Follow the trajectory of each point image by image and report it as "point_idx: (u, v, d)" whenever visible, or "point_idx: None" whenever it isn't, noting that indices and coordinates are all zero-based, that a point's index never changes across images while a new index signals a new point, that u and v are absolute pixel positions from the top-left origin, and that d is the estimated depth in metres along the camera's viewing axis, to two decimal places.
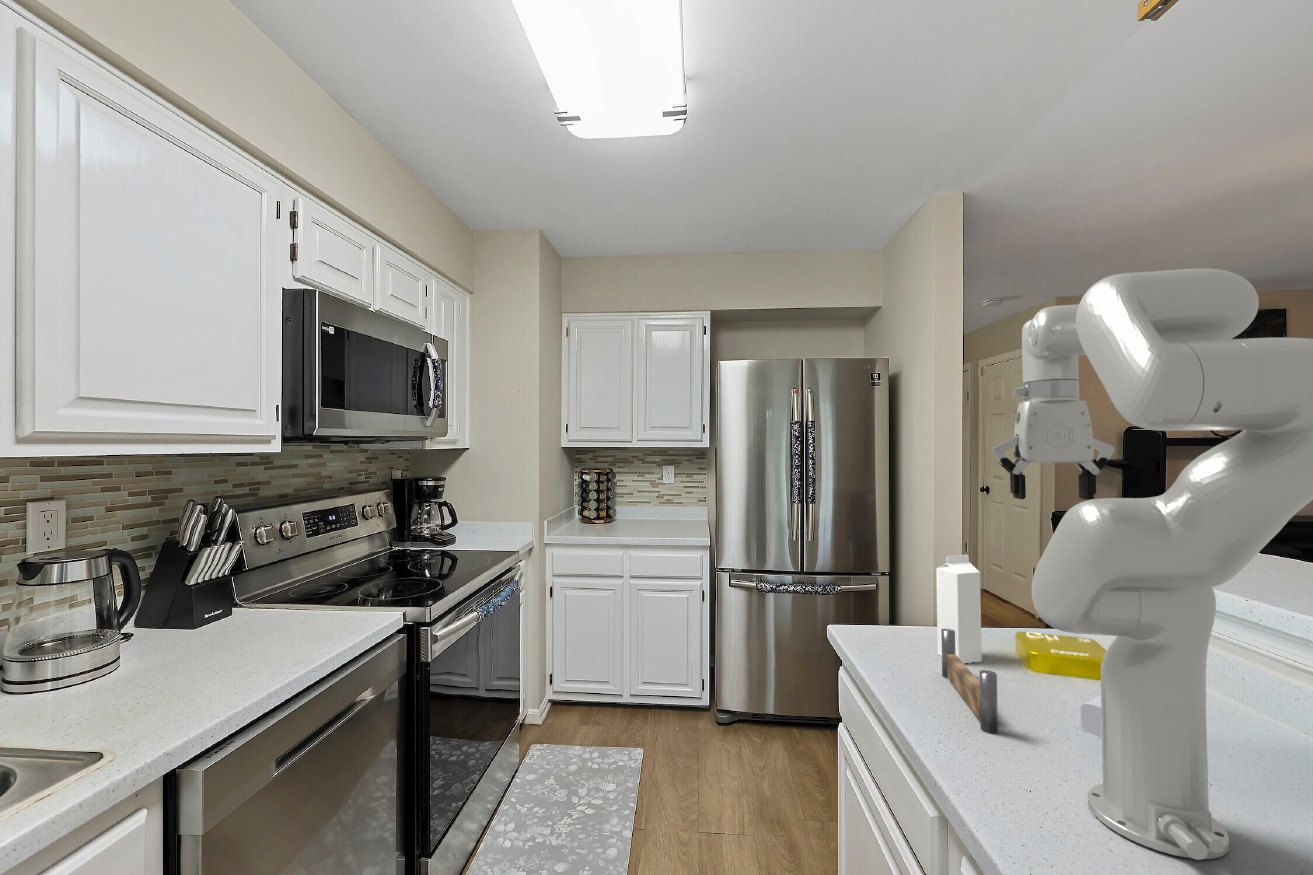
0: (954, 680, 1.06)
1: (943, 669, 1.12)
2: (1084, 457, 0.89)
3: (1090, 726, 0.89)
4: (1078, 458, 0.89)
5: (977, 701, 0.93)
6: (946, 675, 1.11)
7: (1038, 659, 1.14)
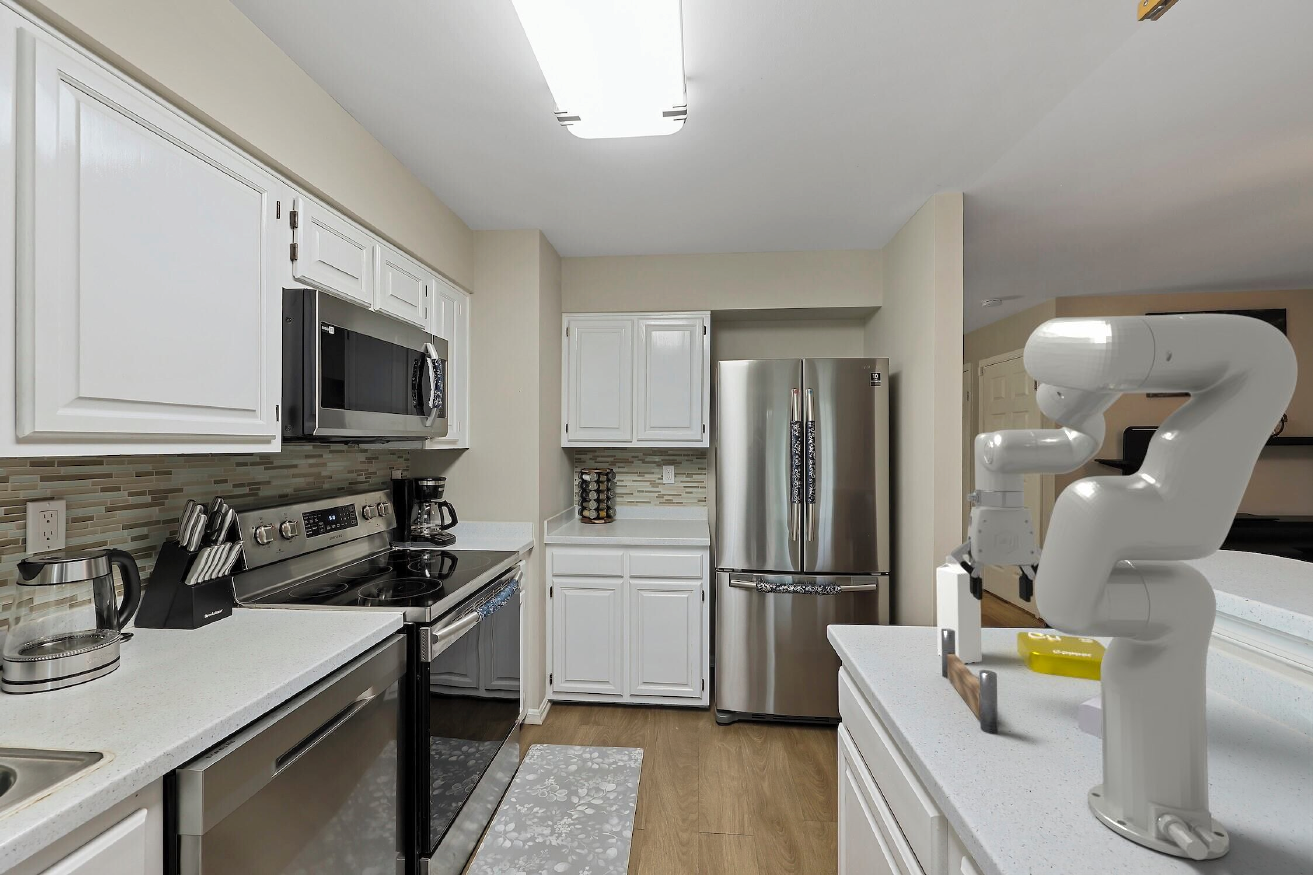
0: (954, 680, 1.06)
1: (943, 669, 1.12)
2: (1027, 562, 0.99)
3: (1087, 726, 0.89)
4: (1022, 562, 0.99)
5: (977, 701, 0.93)
6: (946, 675, 1.11)
7: (1040, 660, 1.13)
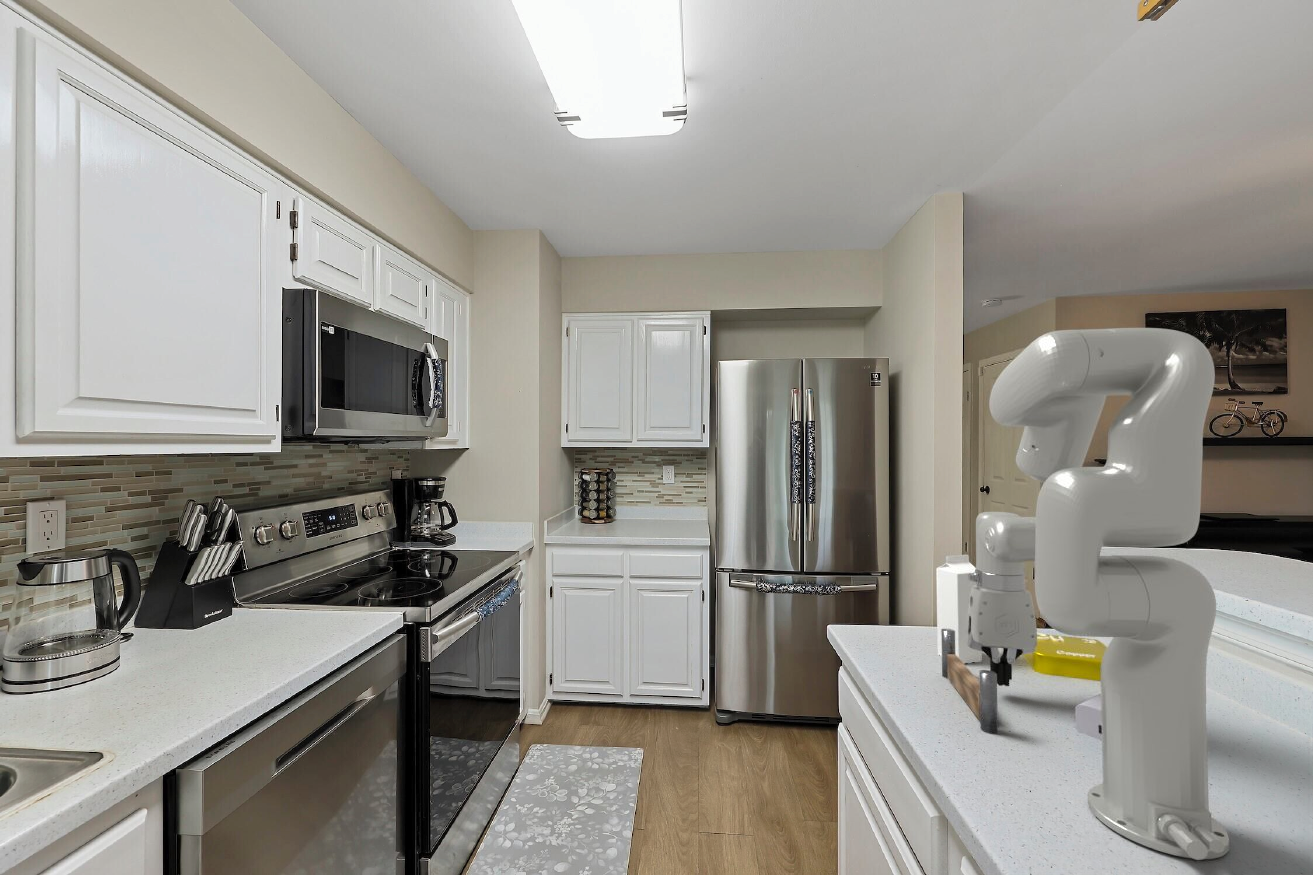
0: (954, 680, 1.06)
1: (943, 669, 1.12)
2: (1028, 645, 0.99)
3: (1084, 727, 0.89)
4: (1023, 645, 0.99)
5: (977, 701, 0.93)
6: (946, 675, 1.11)
7: (1044, 661, 1.13)
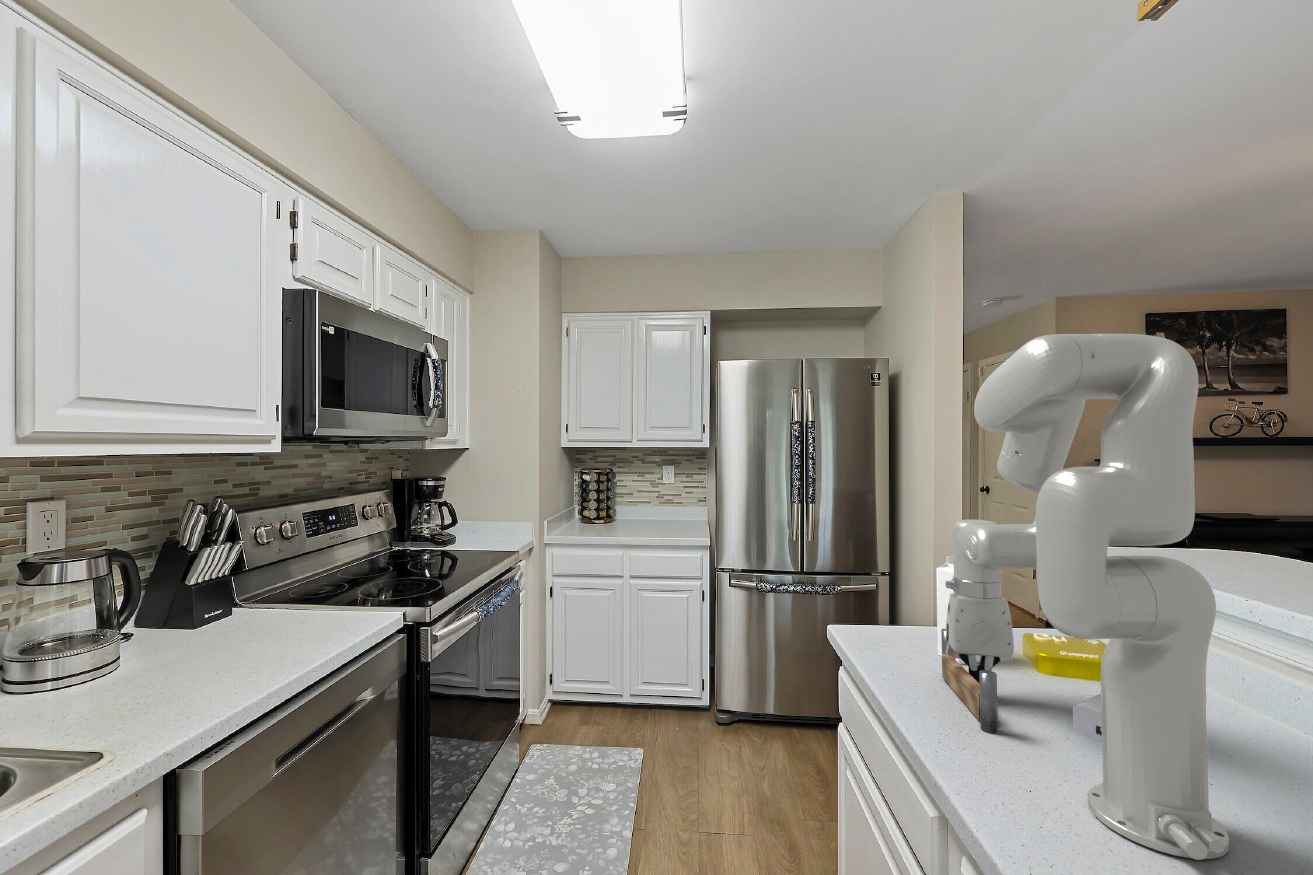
0: (950, 680, 1.06)
1: None
2: (1004, 653, 0.99)
3: (1082, 727, 0.89)
4: (999, 653, 1.00)
5: (977, 701, 0.93)
6: None
7: (1047, 661, 1.13)
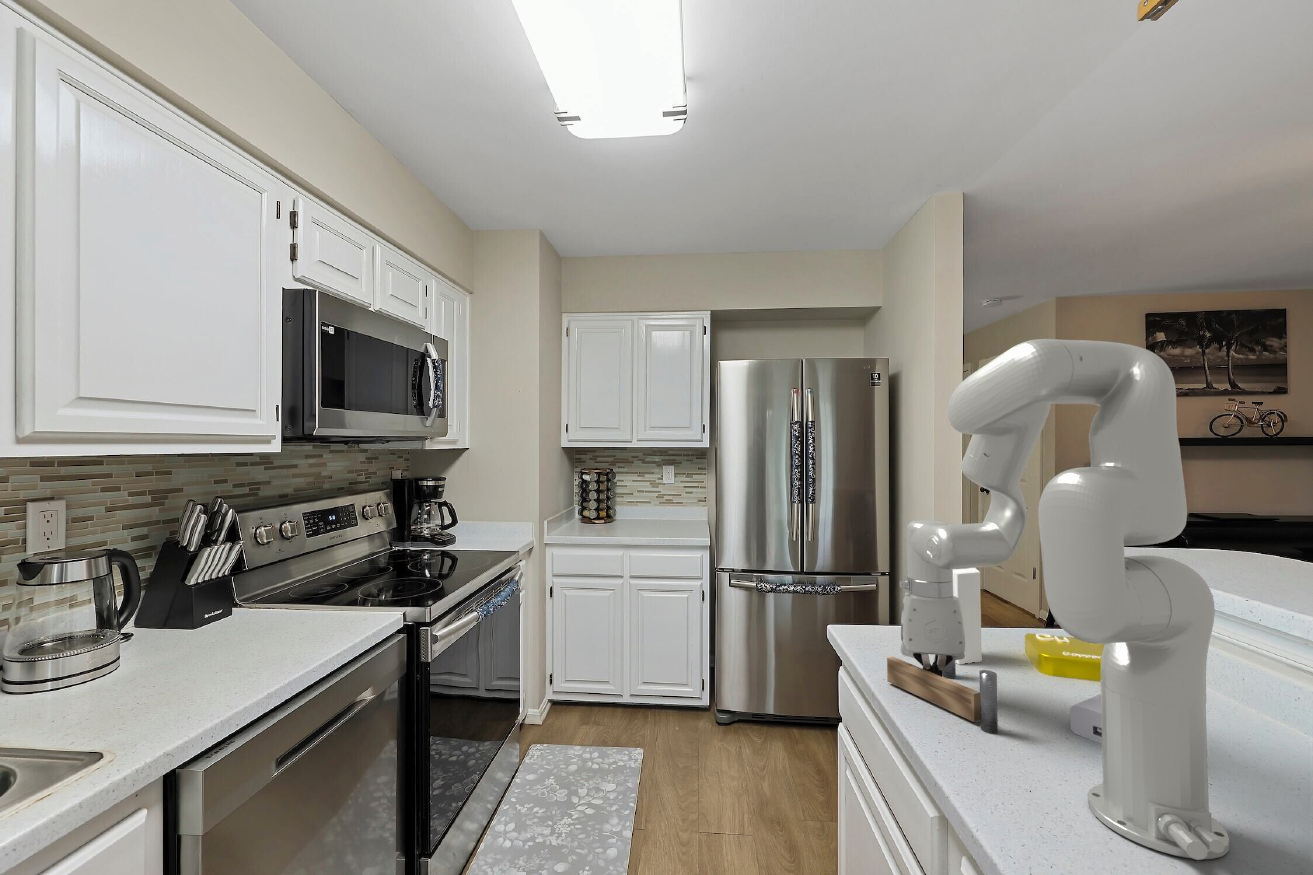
0: (906, 683, 1.04)
1: None
2: (956, 651, 1.01)
3: (1079, 728, 0.89)
4: (951, 652, 1.01)
5: (970, 703, 0.93)
6: (946, 675, 1.11)
7: (1050, 662, 1.12)
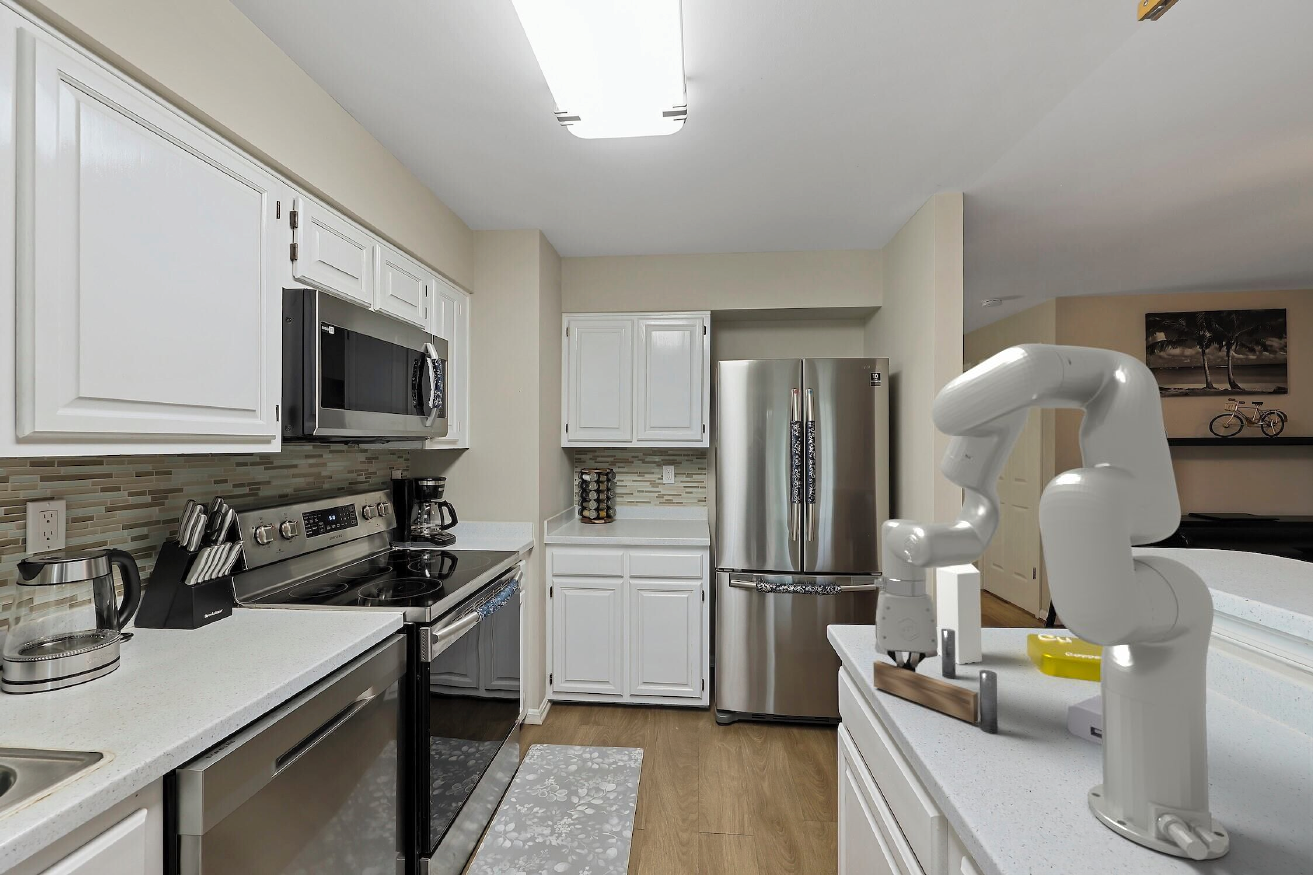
0: (895, 687, 1.03)
1: (943, 669, 1.12)
2: (929, 649, 1.02)
3: (1077, 728, 0.89)
4: (924, 649, 1.02)
5: (969, 704, 0.92)
6: (946, 675, 1.11)
7: (1053, 663, 1.12)
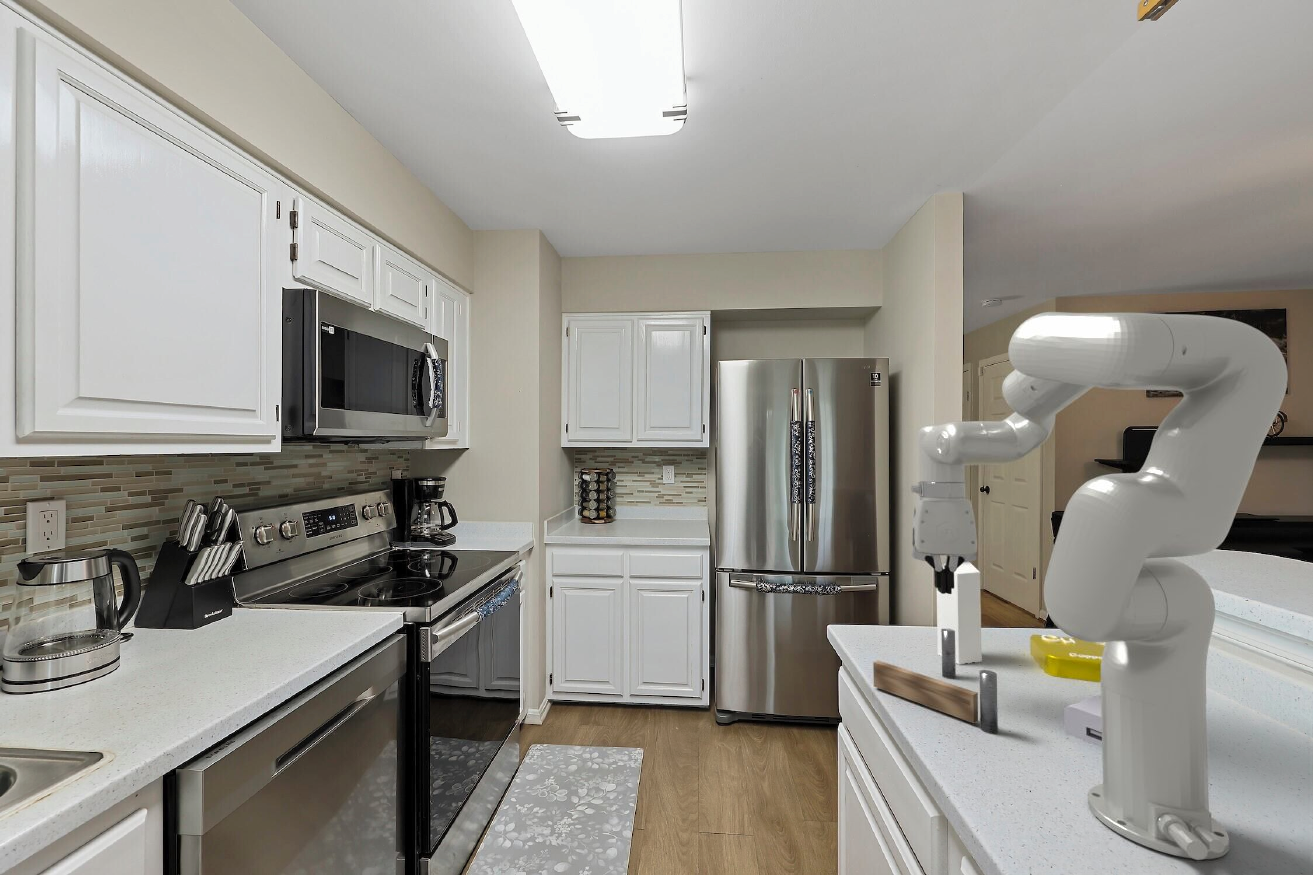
0: (895, 688, 1.03)
1: (943, 669, 1.12)
2: (968, 551, 1.01)
3: (1073, 729, 0.88)
4: (963, 552, 1.01)
5: (969, 704, 0.92)
6: (946, 675, 1.11)
7: (1057, 663, 1.11)
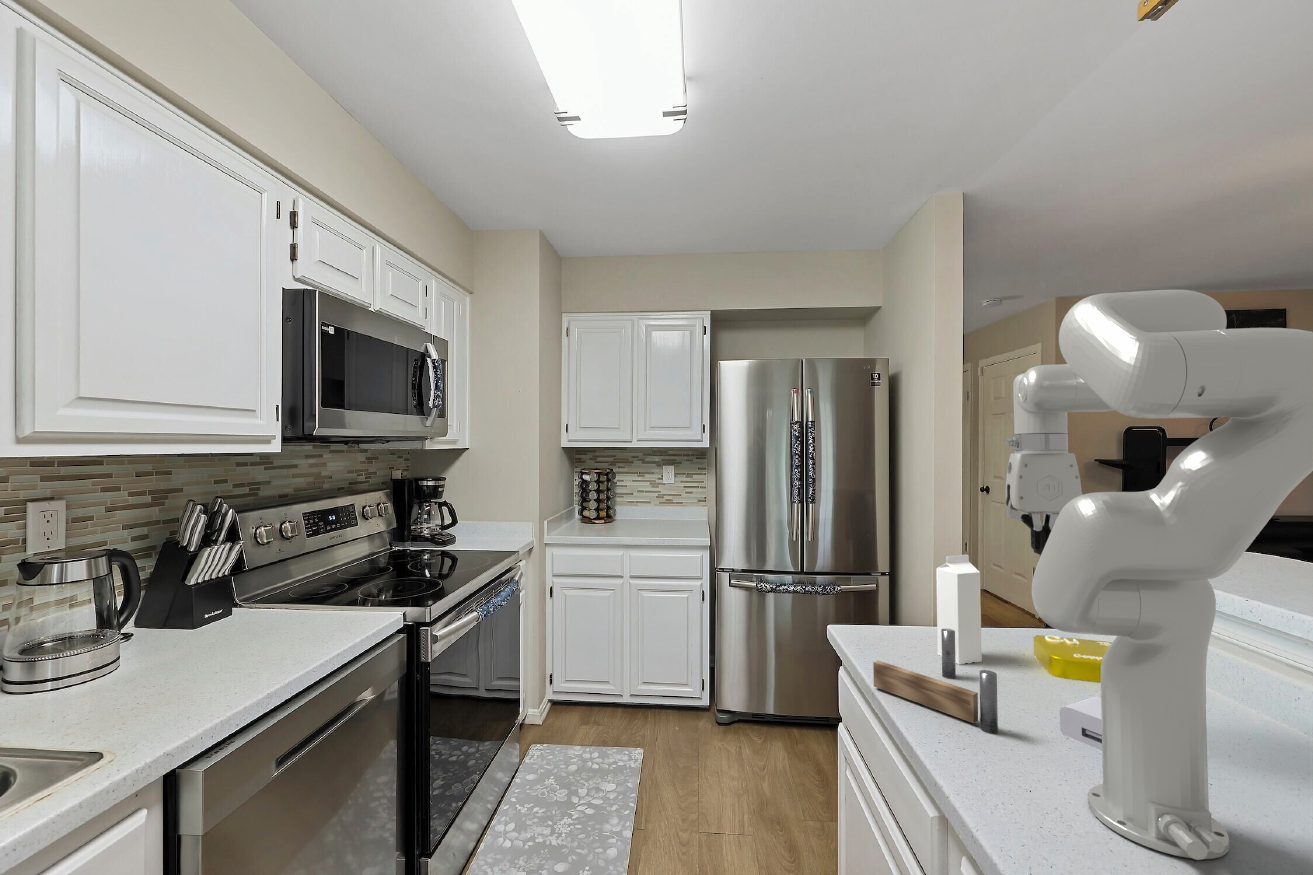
0: (895, 688, 1.03)
1: (943, 669, 1.12)
2: None
3: (1068, 729, 0.88)
4: None
5: (969, 704, 0.92)
6: (946, 675, 1.11)
7: (1061, 664, 1.11)
